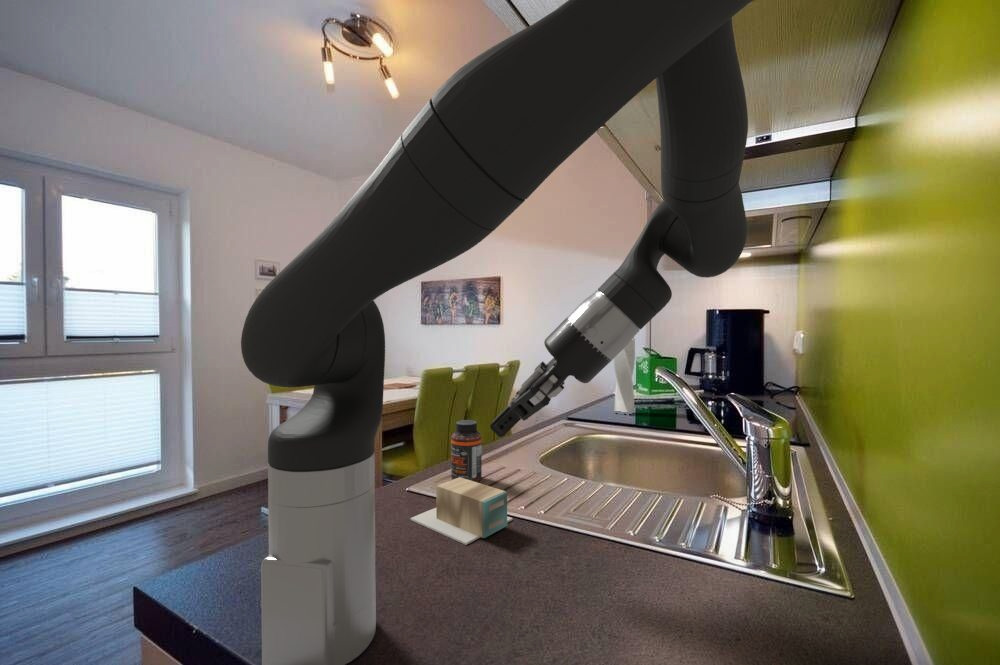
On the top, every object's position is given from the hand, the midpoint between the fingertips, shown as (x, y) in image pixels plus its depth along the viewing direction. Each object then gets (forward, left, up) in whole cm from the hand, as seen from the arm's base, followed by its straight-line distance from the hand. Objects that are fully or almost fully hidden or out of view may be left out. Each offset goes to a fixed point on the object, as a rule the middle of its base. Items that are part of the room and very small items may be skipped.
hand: (495, 430), depth 56 cm
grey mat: (+9, +7, -16) cm, 19 cm away
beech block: (+5, +1, -13) cm, 14 cm away
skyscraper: (+99, -26, -16) cm, 103 cm away
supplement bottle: (+26, +11, -16) cm, 32 cm away
